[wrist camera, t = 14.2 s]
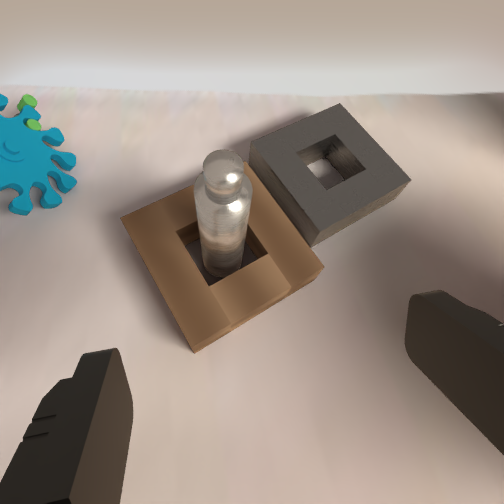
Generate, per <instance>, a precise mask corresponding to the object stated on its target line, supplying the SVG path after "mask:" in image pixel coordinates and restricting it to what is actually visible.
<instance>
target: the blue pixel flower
mask: <svg viewBox="0 0 504 504" xmlns="http://www.w3.org/2000/svg"><path fill="white" fill-rule="evenodd" d="M7 103H8V99H7V97H5V96H4V95H2V94H0V111H2V110H4V108H5V107H6V105H7ZM36 105H37V101H36V99H35V98H34V97H33V96H31V95H28V94H25V95H24V96H23V97H22V99H21V100H20V102H19V104H18V105H17V108H18V110H19V111H20V113H19V114H16V115H15V116H14V117H12V118H5V117H3V116H2V115H0V191H1V190H4V189H6V188H13V189H15V190H16V191H17V192H18V193H19V196H18V197H16V198H14V199H13V201H12V202H11V203H10V204H9V207H8V208H9V211H10V212H13V213H15V214H19V215H27V214H28V213H29V212H30V211H31V210H32V209H33V204H32V202H31V200H30V196H29V192H30V188H31V186H35V187H38V188H39V189H41V191H42V197H41V199H40V204H41V206H42V207H43V208H45V209H49V208H54V207H57V206H59V205H60V204H61V203H62V198H61V197H60V195H59V194H57V193H56V192H55V191H54V190H53V188H52V187H51V185H50V183H49V181H48V177H47V175H48V176H52V177H53V178H54V179H55V180H56V182H57V186H58V188H59V190H60V191H62V192H63V193H67V192H68V191H70V190H71V189H72V188H73V187H74V186H75V185H76V183H77V181H76V179H75V178H73V177H72V176H69V175H67V174H65V173H63V172H62V171H60V170H59V169H58V168H57V167H56V166H55V165H54V164H53V162H52V161H51V159H53V160H55V161H57V162H58V164H59V165H60V166H61V167H62V168H63V169H65V170H68V171H70V170H71V169H72V168H73V167H74V166H75V164H76V156H75V155H74V154H72V153H69V152H59V151H56V150H54V149H52V148H50V147H49V146H47V145H45V144H44V143H43V141H46V142H48V143H49V144H51V145H53V146H60V145H61V144H62V143H63V142H64V137H63V135H62V133H61V131H60V130H59V129H58V128H51V129H49V130H47V131H40V129H41V125H40V123H39V122H38V120H39V119H40V118H41V115H40V114H39V113H38V112H37V111H36V110H35V109H34V108H35V107H36ZM42 140H43V141H42Z"/></svg>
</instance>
